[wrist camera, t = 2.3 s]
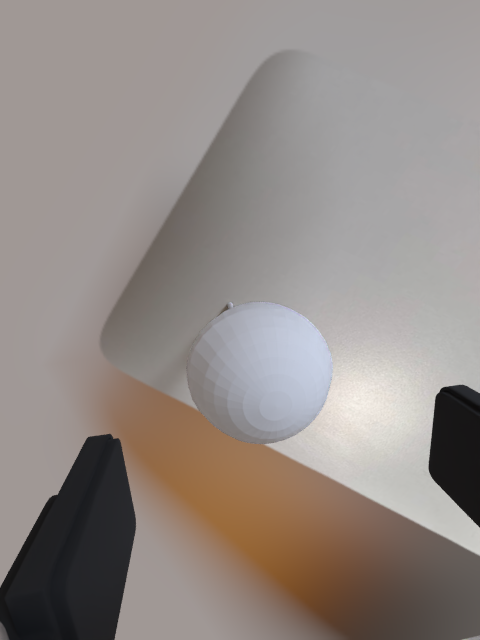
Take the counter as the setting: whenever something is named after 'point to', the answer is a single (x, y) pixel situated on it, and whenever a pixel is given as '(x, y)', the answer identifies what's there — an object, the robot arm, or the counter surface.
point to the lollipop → (259, 372)
